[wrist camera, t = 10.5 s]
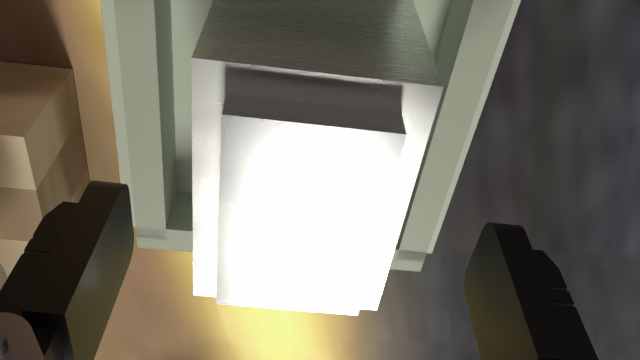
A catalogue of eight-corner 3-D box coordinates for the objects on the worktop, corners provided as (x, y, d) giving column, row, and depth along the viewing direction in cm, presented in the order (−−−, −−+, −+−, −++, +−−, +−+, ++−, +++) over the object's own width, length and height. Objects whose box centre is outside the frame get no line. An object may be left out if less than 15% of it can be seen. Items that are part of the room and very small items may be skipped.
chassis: (556, -146, 15) (600, -122, 13) (428, 235, 24) (440, 292, 21) (89, -216, 14) (44, -205, 12) (132, 209, 23) (111, 264, 20)
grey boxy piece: (406, -18, 16) (450, 108, 11) (362, 176, 21) (379, 334, 15) (228, -42, 16) (183, 77, 10) (221, 161, 20) (187, 319, 15)
